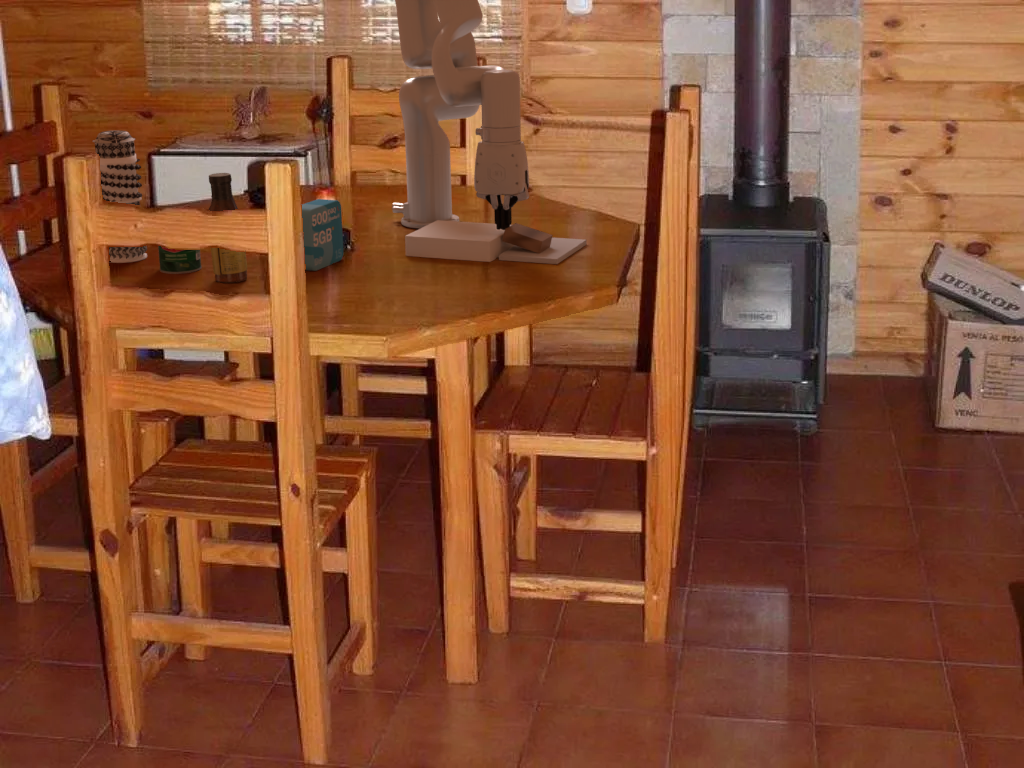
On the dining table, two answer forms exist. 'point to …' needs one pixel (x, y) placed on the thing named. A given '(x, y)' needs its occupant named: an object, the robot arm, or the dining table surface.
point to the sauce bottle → (224, 261)
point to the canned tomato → (179, 260)
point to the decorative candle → (120, 182)
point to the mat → (545, 252)
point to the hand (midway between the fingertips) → (503, 228)
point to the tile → (527, 238)
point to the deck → (457, 241)
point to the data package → (322, 233)
